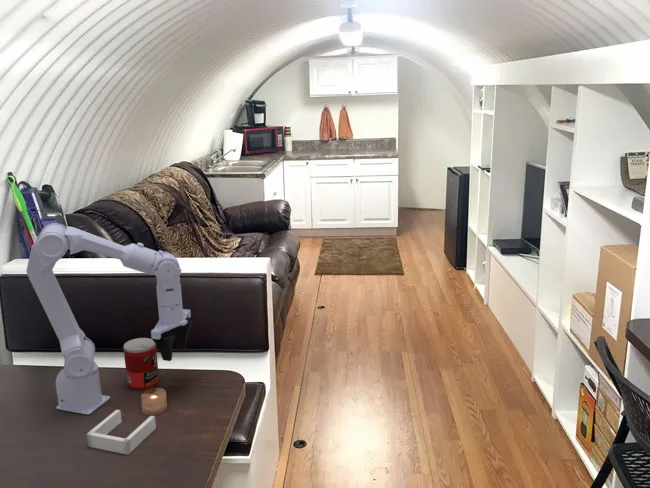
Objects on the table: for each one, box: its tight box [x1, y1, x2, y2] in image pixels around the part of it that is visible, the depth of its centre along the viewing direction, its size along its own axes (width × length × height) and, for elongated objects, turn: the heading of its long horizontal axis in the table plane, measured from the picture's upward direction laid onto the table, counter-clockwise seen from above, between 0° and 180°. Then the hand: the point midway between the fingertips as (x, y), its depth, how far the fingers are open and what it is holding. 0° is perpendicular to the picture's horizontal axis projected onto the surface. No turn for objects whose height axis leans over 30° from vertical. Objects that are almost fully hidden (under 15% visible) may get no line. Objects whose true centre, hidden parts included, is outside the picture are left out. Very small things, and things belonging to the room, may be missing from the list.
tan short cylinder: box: [140, 387, 168, 416], centre depth 134 cm, size 6×6×4 cm
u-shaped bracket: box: [85, 409, 157, 456], centre depth 123 cm, size 10×10×3 cm
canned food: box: [123, 337, 160, 391], centre depth 145 cm, size 8×8×11 cm
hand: (174, 354), depth 141 cm, fingers open, 6 cm apart
